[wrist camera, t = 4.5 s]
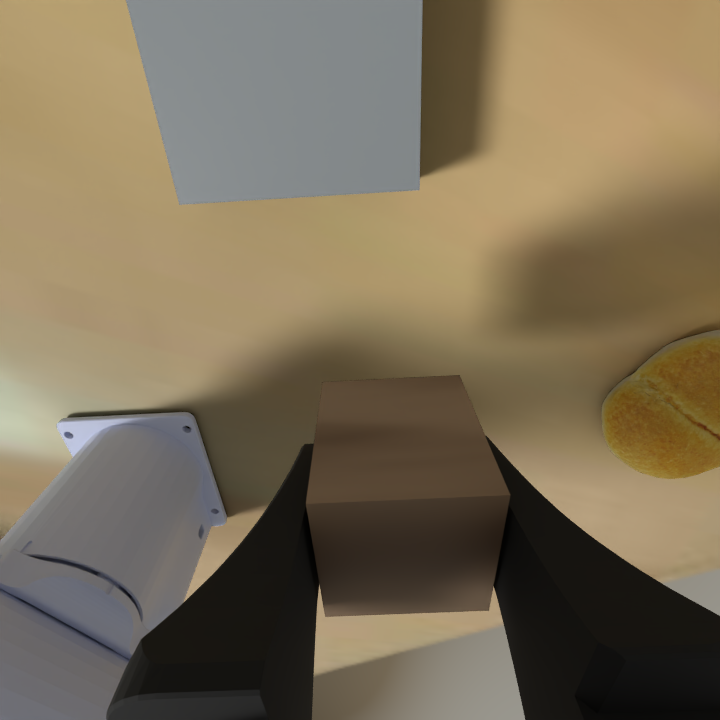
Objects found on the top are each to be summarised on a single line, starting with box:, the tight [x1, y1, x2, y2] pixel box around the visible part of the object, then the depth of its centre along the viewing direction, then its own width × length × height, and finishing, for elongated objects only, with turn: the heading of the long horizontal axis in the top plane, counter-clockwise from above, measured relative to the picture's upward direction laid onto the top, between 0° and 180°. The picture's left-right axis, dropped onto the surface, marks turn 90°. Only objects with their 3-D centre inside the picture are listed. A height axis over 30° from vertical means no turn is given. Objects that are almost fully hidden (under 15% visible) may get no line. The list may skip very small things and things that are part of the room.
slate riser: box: [126, 0, 423, 205], centre depth 14 cm, size 9×9×3 cm
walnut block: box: [306, 375, 510, 617], centre depth 12 cm, size 4×4×5 cm
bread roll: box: [601, 330, 720, 479], centre depth 22 cm, size 8×9×4 cm
